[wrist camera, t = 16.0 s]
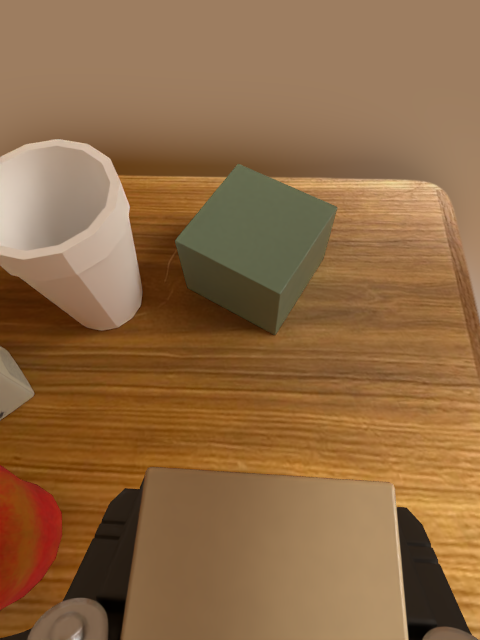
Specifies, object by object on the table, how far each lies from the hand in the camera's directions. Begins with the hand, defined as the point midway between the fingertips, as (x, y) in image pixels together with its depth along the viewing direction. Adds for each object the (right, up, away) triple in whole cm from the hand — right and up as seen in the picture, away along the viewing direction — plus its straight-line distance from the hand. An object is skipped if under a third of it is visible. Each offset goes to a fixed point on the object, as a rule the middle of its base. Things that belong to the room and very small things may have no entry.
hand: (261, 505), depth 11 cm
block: (0, -4, +5) cm, 6 cm away
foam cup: (-12, +7, +27) cm, 30 cm away
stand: (+1, +9, +27) cm, 29 cm away
